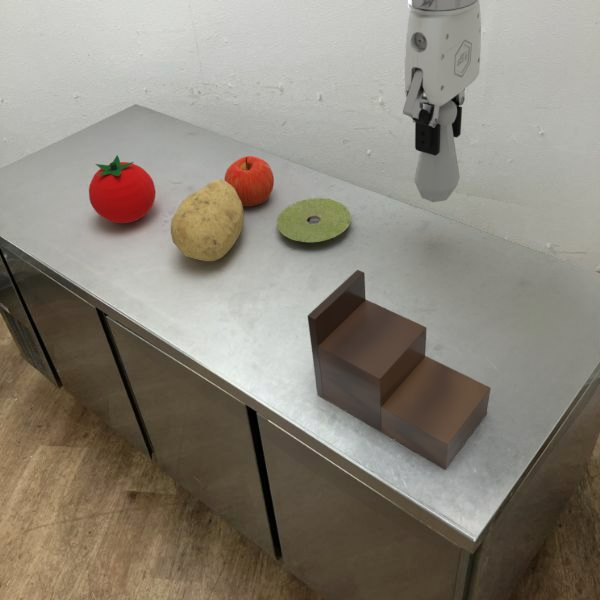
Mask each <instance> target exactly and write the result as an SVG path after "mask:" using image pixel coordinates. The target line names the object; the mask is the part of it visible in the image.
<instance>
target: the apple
mask: <svg viewBox="0 0 600 600" xmlns="http://www.w3.org/2000/svg"><path fill="white" fill-rule="evenodd" d="M224 181H226V182H227V183H229V184H230V185H231V186H232V187H233V188H234V189H235V191H236V193H237V195H238V197H239V198H240V200H241V202H242V207H254V206H258V205H261V204H263V203H265V202H266V201H267V200H268V199H269V197H270V195H271V194H272V191H273V189H274V186H275V185H274V184H275V177H274V173H273V171H272V168H271V166H270V164H269V163H268V162H267V161H266V160H264V159H262V158H260V157H258V156H254V155H246V156H243V157H241V158H238V159H237V160H234V162H232V163H231V164H230V165H229V167H228V168H227V169H226V171H225V173H224Z"/></svg>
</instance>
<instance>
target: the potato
mask: <svg viewBox="0 0 600 600" xmlns="http://www.w3.org/2000/svg"><path fill="white" fill-rule="evenodd" d="M244 221H245V213H244V206H243V205H242V202H241V200H240V198H239V197H238V195H237V193H236V191H235V189H234V188H233V187H232V186H231V185H230V184H229V183H227V182H226V181H225V179H215V180H212V181H211V182H209V183H208V184H206V185H204V186H203V187H202V188H200V189H199V190H196V191H194V192H192V193H190V194H188V195H187V196H186V197H185V198H184V199H183V200H182V202H181V203H180V204H179V206H178V208H177V210H176V212H175V213H174V215H173V216H172V218H171V222H170V235H171V240H172V243H173V244H174V246H175V247H176V248H177V250H179V252H180V253H182V254H183V255H185V256H186V257H187V258H191V259H194V260H198V261H203V262H215V261H218V260H220V259H222V258H223V257H224V256H226V254H228V252H229V251H230V250H231V249H232V247H234V245H235V244H236V242H237V239H238V238H239V236H240V235H241V232H242V229H243V227H244Z"/></svg>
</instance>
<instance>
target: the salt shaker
mask: <svg viewBox="0 0 600 600" xmlns="http://www.w3.org/2000/svg"><path fill="white" fill-rule="evenodd" d="M423 109H424V110H427V111H428V112H429V113H430V110H431V105H427V104H423ZM456 116H457V107H456V105H455V103H454V102H453V101H451V100H450V101H448V102H447V103H445V104H444V105H442V106H440V108H439V115H438V122H437V124H440V125H441V129H440V152H439V154H437V155H436V156H435V155H431V154H428V153H424V152H421V151H419V154H418V161H417V164H416V169H415V173H414V178H413V181H414V184H415V186H416V188H417V191H418V192H419V195H420V197H421V199H424V200H426V201H429V202H431V203H437V202H445V201H447V200H448V199H449V198H450V196H451V195H452V194H453V192H454V191H455V189H456V188H457V187H458V184H459V181H460V178H461V177H460V176H461V175H460V170H459V164H458V163H459V161H458V156H457V150H456V149H457V148H456V143H455V137H454V136H453V130H452V123H453V122H454V121H455V118H456Z"/></svg>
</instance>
